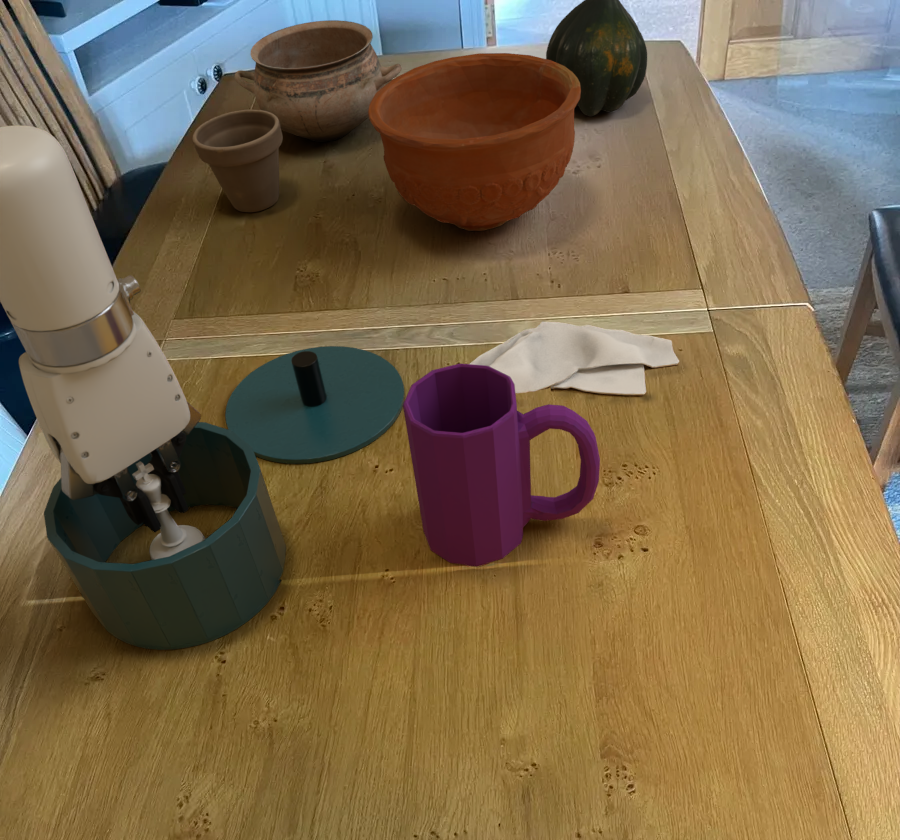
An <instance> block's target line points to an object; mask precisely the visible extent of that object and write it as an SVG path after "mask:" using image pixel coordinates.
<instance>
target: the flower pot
mask: <svg viewBox="0 0 900 840" xmlns="http://www.w3.org/2000/svg"><path fill="white" fill-rule="evenodd" d="M282 131H283V130H281V127H280V122H279V120H278V118H277V117H276V116H275V115H274V114H272V113H270V112H267V111H263V110H260V109H241V110H235V111H229V112H226V113H222V114H220V115H216V116H214V117H212V118H210V119H208V120H206V121H205V122H203V123H202V124H201V125H199V126H198V127H197V128H196V129H195V130H194V132H193V134H192V142H193V145H194V148H195V150H196V153H197V156H198V158H199V160H201V161H202V162H203V163H205V164H207V165H208V166H209V168H210V169H211V171H212V173H213V175H214V177H215V178H216V180H217V182H218V184H219V186H220V188H221V189H222V191H223V192H224V194H225V196H226V197H227V200H228V201H229V202H230V203H231V205H232V208H234V209H235V210H236V211H239V212H242V213H257V212H261V211H264V210H267V209H268V208H271V207H272V206H273V205H275V204H276V203H277V202H278V200H279V198H280V158H279V157H280V156H279V155H280V154H279V148H280V146H282V144H283V140H284V139H283V137H284V136H283V132H282Z"/></svg>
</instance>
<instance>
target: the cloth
mask: <svg viewBox="0 0 900 840" xmlns="http://www.w3.org/2000/svg"><path fill="white" fill-rule="evenodd" d="M469 364H473V365H486V366H490V367H492V368H494V369H496V370H498V371H500V372H502V373H504V374H506V375H508V376H510V377H511V379H512V381H513V383H514V384H515V394H524V393H528V392H538V391H542V390H544V389H547V388H549V387H550V389H565V390H566V389H570V388H572V389H575V390H578V391H581V392H586V393H593V394H594V393H595V394H602V395H603V394H604V395H619V396H644V395H645V394H646V393H647V388H646V386H647V385H646V374H645V366H647V367H648V368H649V367H650V368H652V369H657V368H663V367H670V366H677V365H679V364H680V360H679V358H678V356H677V355H676V353H675V351H674V347H673V341H672V340H671V339H667V338H663V337H659V336H653V335H648V334H639V333H633V332H630V331H627V330H624V329H613V328H603V327H599V326H595V325H592V324H585V325H576V324H571V323H568V322H567V323H566V322H559V321H541V322H540V323H539V324H538V325H537V326H535V327H529V328H524V329H522V330H521V331H519V332H518V333H516V334H514V335H512V336H511V337H510V338H508V339H506V340H505V341H504V342H502V343H500V344H498V345H496V346H494V347H493V348H491V349H488V350H487V351H485V352H483V353H482V354H480V355H478V356H477V357H475V358H474V359H473V360H472V361H470V362H469Z"/></svg>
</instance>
